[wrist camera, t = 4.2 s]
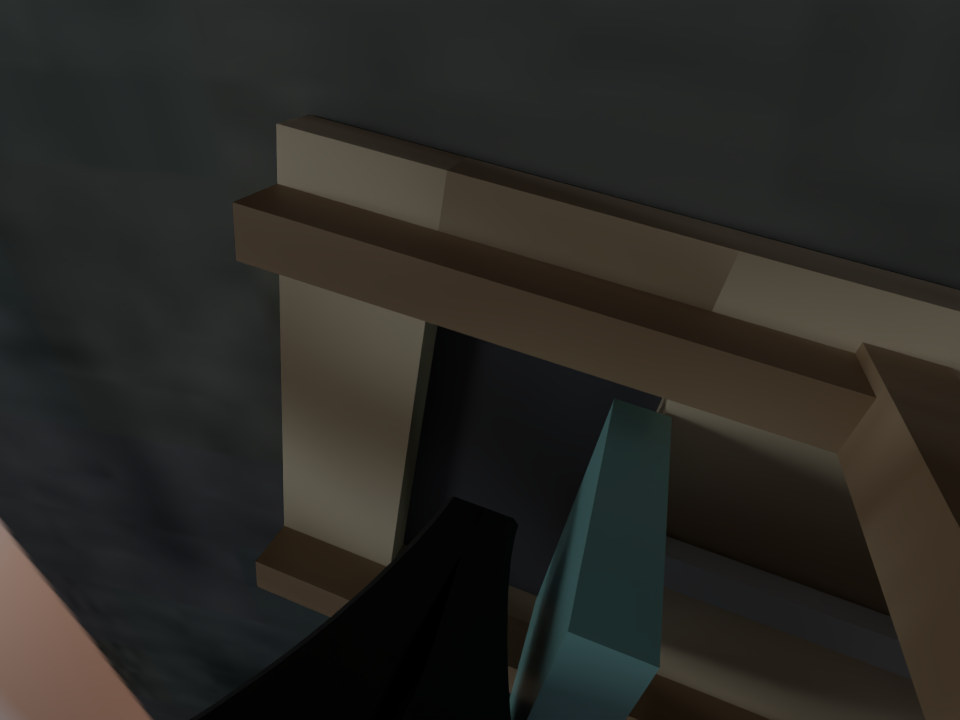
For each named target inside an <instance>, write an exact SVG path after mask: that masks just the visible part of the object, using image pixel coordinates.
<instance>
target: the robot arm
mask: <svg viewBox="0 0 960 720" xmlns="http://www.w3.org/2000/svg"><path fill="white" fill-rule="evenodd" d="M517 528H518V524H517V522H516V521H515V519H514V518H511V517H509V516H506V515H503V514H501V513H498V512H495V511H492V510H490V509H487V508H484V507H482V506H479V505H476V504H473V503H471V502H468V501H465V500H463V499H460V498H457V497H454V496H453V497H450V498H447V499H446V501H445V502H444V503H443V505H442V506H441V507H440V509H439V510H438V511H437V513H436V514H435V515H434V516H433V517H432V519H431V520H430V521H429V522H428V523H427V525H426V526H425V527H424V528H423V529H422V530H421V531H420V533H419V534H418V535H417V536H416V537H415V538H414V539H413V540H412V541H411V542H410V543H409V544H408V545H407V546H406V548H405V549H404V550H403V551H402V552H401V553H400V554H399V555H398V556H397V557H396V558H395V559H394V560H393V561H392V562H391V563H390V564H389V565H387V566H386V567H385V568H384V569H383V570H382V571H381V572H380V573H379V574H378V575H377V576H376V577H375V578H374V579H373V580H372V581H371V582H370V583H369V584H368V585H367V586H366V587H365V588H363V589H362V590H361V591H360V592H359V593H358V594H357V595H355V596H354V597H353V598H352V599H351V600H350V601H349V602H348V603H346V604H345V605H344V606H343V607H342V608H341V609H340V610H338V611H337V612H336V613H335V614H334V615H333V616H332V617H330V618H329V619H328V620H327V621H326V622H324V623H323V624H322V625H321V626H320V627H318V628H317V629H316V630H315V631H313V632H312V633H311V634H310V635H308V636H307V637H306V638H305V639H303V640H302V641H301V642H300V643H298V644H297V645H296V646H294V647H293V648H292V649H290V650H289V651H288V652H287V653H285V654H284V655H283V656H281V657H280V658H279V659H277V660H276V661H275V662H273V663H272V664H271V665H269V666H268V667H266V668H265V669H264V670H262V671H261V672H259V673H258V674H257V675H255V676H254V677H252V678H251V679H249V680H248V681H247V682H245V683H244V684H242V685H241V686H240V687H238V688H237V689H235V690H234V691H232V692H231V693H230V694H228V695H227V696H225V697H224V698H222V699H221V700H219V701H218V702H216V703H215V704H213V705H212V706H210V707H209V708H207V709H206V710H204V711H203V712H201V713H200V714H198V715H196V716H195V717H193V718H191V719H190V720H511V714H510V699H509V679H508V650H507V630H508V589H509V576H510V565H511V557H512V550H513V545H514V540H515V535H516V531H517Z"/></svg>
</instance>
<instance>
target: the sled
mask: <svg viewBox="0 0 960 720" xmlns="http://www.w3.org/2000/svg"><path fill="white" fill-rule="evenodd" d="M671 422H672V417H670V416H667V415H664V414H661V413H658V412H654V411H651V410H648V409H645V408H642V407H639V406H636V405H633V404H630V403H627V402H624V401H621V400H618V399H615V398H614V401H613V403H612V406H611V408H610V411H609V413H608V416H607V419H606V421H605V424H604V426H603V429H602V431H601V434H600V437H599V439H598V442H597V444H596V447H595V450H594V452H593V455H592V457H591V460H590V462H589V465H588V468H587V470H586V473H585V475H584V478H583V480H582V483H581V486H580V488H579V491H578V493H577V496H576V498H575V501H574V504H573V506H572V509H571V511H570V514H569V516H568V519H567V522H566V524H565V527H564V529H563V532H562V535H561V537H560V540H559V542H558V545H557V547H556V550H555V553H554V555H553V558H552V560H551V563H550V565H549V568H548V571H547V573H546V576H545V578H544V581H543V583H542V586H541V589H540V591H539V594H538V596H537V599H536V601H535V605H534V609H533V613H532V617H531V620H530V624H529V628H528V632H527V635H526V639H525V643H524V647H523V651H522V654H521V658H520V662H519V666H518V669H517V673H516V677H515V681H514V685H513V688H512V692H511V696H510V714H511V720H626V718H627V717H628V715H629V714H630V712H631V711H632V709H633V708H634V706H635V705H636V703H637V702H638V700H639V699H640V697H641V696H642V694H643V693H644V691H645V689H646V688H647V686H648V685H649V683H650V682H651V680H652V679H653V677H654V676H655V674H656V673H657V671H658V670H659V668H660V652H661V631H662V610H663V589H664V587H665V588H668V589H671V590H673V591H676V592H679V593H681V594H684V595H687V596H689V597H692V598H695V599H698V600H700V601H703V602H706V603H708V604H711V605H714V606H716V607H719V608H722V609H724V610H727V611H730V612H732V613H735V614H738V615H740V616H743V617H746V618H748V619H751V620H754V621H756V622H759V623H762V624H764V625H767V626H770V627H772V628H775V629H778V630H780V631H783V632H786V633H788V634H791V635H794V636H796V637H799V638H802V639H805V640H807V641H810V642H813V643H815V644H818V645H821V646H823V647H826V648H829V649H831V650H834V651H837V652H839V653H842V654H845V655H847V656H850V657H853V658H855V659H858V660H861V661H863V662H866V663H869V664H871V665H874V666H877V667H879V668H882V669H885V670H887V671H890V672H893V673H895V674H898V675H901V676H903V677H906V678H909V679H911V676H910V673H909V670H908V667H907V664H906V661H905V658H904V655H903V652H902V649H901V646H900V643H899V640H898V636H897V633H896V630H895V627H894V624H893V621H892V618H891V616H888V615H885V614H882V613H880V612H877V611H874V610H871V609H868V608H866V607H863V606H860V605H857V604H854V603H852V602H849V601H846V600H843V599H841V598H838V597H835V596H832V595H829V594H827V593H824V592H821V591H818V590H816V589H813V588H810V587H807V586H804V585H802V584H799V583H796V582H793V581H791V580H788V579H785V578H782V577H779V576H777V575H774V574H771V573H768V572H765V571H763V570H760V569H757V568H754V567H752V566H749V565H746V564H743V563H740V562H738V561H735V560H732V559H729V558H727V557H724V556H721V555H718V554H715V553H713V552H710V551H707V550H704V549H702V548H699V547H696V546H693V545H690V544H688V543H685V542H682V541H679V540H676V539H674V538H671V537H668V536H666V527H667V506H668V485H669V464H670V443H671ZM911 680H912V679H911Z"/></svg>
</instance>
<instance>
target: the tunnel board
mask: <svg viewBox="0 0 960 720" xmlns="http://www.w3.org/2000/svg"><path fill="white" fill-rule="evenodd" d="M276 128H277V179H278V184H276V185H273V186H271V187H269V188H266V189H264V190H261V191H259V192H256V193H254V194H252V195H249V196H247V197H244V198H242V199H239V200H237V201H235V202H233V217H234V232H235V248H236V261H239V262H242V263H245V264H248V265H251V266H254V267H258V268H261V269H264V270H267V271H270V272H273V273H276V274H279V281H280V332H281V384H282V435H283V486H284V527H283V528H282V529H281V530H280V532H279V533H278V534H277V535H276V537H275V538H274V539H273V540H272V542H271V543H270V544H269V546H268V547H267V548H266V549H265V551H264V552H263V553H262V554H261V556H260V557H259V558H258V559H257V561H256V574H257V586H258V587H260V588H262V589H265V590H267V591H270V592H272V593H274V594H277V595H279V596H281V597H284V598H286V599H289V600H291V601H293V602H296V603H298V604H300V605H303V606H305V607H308V608H310V609H312V610H315V611H317V612H319V613H322V614H324V615H326V616H329V617H332V616H333V615H334V614H335V613H336V612H337V611H338V610H340V609H341V608H342V607H343V606H344V605H345V604H346V603H348V602H349V601H350V600H351V599H352V598H353V597H354V596H355V595H357V594H358V593H359V592H360V591H361V590H362V589H363V588H365V587H366V586H367V585H368V584H369V583H370V582H371V581H372V580H373V579H374V578H375V577H376V576H377V575H378V574H379V573H380V572H381V571H382V570H383V569H384V568H385V567H386V566H387V565H389V564H390V563H391V562H392V561H393V560H394V559H395V558H396V557H397V556H398V555H399V554H400V553H401V552H402V551H403V550H404V549H405V548H406V546H407V545H408V544H409V543H410V542H411V541H412V540H413V539H414V538H415V537H416V536H417V535H418V534H419V533H420V531H421V530H422V529H423V528H424V527H425V526H426V525H427V523H428V522H429V521H430V520H431V519H432V517H433V516H434V515H435V514H436V513H437V511H438V510H439V509H440V507H441V506H442V505H443V503H444V502H445V501H446V499H447V498H450V497H453V496H454V497H457V498H460V499H463V500H465V501H468V502H471V503H473V504H476V505H479V506H482V507H484V508H487V509H490V510H492V511H495V512H498V513H501V514H503V515H506V516H509V517H511V518H514V519H515V521H516V522H517V524H518V528H517V531H516V535H515V540H514V545H513V550H512V557H511V565H510V576H509V589H508V630H507V650H508V679H509V693H511V692H512V688H513V685H514V681H515V677H516V673H517V669H518V666H519V662H520V658H521V654H522V651H523V647H524V643H525V639H526V635H527V632H528V628H529V624H530V620H531V617H532V613H533V609H534V605H535V601H536V599H537V596H538V594H539V591H540V589H541V586H542V583H543V581H544V578H545V576H546V573H547V571H548V568H549V565H550V563H551V560H552V558H553V555H554V553H555V550H556V547H557V545H558V542H559V540H560V537H561V535H562V532H563V529H564V527H565V524H566V522H567V519H568V516H569V514H570V511H571V509H572V506H573V504H574V501H575V498H576V496H577V493H578V491H579V488H580V486H581V483H582V480H583V478H584V475H585V473H586V470H587V468H588V465H589V462H590V460H591V457H592V455H593V452H594V450H595V447H596V444H597V442H598V439H599V437H600V434H601V431H602V429H603V426H604V424H605V421H606V419H607V416H608V413H609V411H610V408H611V406H612V403H613V401H614V398H615V399H618V400H621V401H624V402H627V403H630V404H633V405H636V406H639V407H642V408H645V409H648V410H651V411H654V412H658V413H661V414H664V415H667V416H670V417H672V422H671V443H670V464H669V485H668V506H667V527H666V536H668V537H671V538H674V539H676V540H679V541H682V542H685V543H688V544H690V545H693V546H696V547H699V548H702V549H704V550H707V551H710V552H713V553H715V554H718V555H721V556H724V557H727V558H729V559H732V560H735V561H738V562H740V563H743V564H746V565H749V566H752V567H754V568H757V569H760V570H763V571H765V572H768V573H771V574H774V575H777V576H779V577H782V578H785V579H788V580H791V581H793V582H796V583H799V584H802V585H804V586H807V587H810V588H813V589H816V590H818V591H821V592H824V593H827V594H829V595H832V596H835V597H838V598H841V599H843V600H846V601H849V602H852V603H854V604H857V605H860V606H863V607H866V608H868V609H871V610H874V611H877V612H880V613H882V614H885V615H888V616H891V618H892V621H893V624H894V627H895V630H896V633H897V636H898V640H899V643H900V646H901V649H902V652H903V655H904V658H905V661H906V664H907V667H908V670H909V673H910V676H911V679H912V680H911V679H909V678H906V677H903V676H901V675H898V674H895V673H893V672H890V671H887V670H885V669H882V668H879V667H877V666H874V665H871V664H869V663H866V662H863V661H861V660H858V659H855V658H853V657H850V656H847V655H845V654H842V653H839V652H837V651H834V650H831V649H829V648H826V647H823V646H821V645H818V644H815V643H813V642H810V641H807V640H805V639H802V638H799V637H796V636H794V635H791V634H788V633H786V632H783V631H780V630H778V629H775V628H772V627H770V626H767V625H764V624H762V623H759V622H756V621H754V620H751V619H748V618H746V617H743V616H740V615H738V614H735V613H732V612H730V611H727V610H724V609H722V608H719V607H716V606H714V605H711V604H708V603H706V602H703V601H700V600H698V599H695V598H692V597H689V596H687V595H684V594H681V593H679V592H676V591H673V590H671V589H668V588H665V587H664V589H663V610H662V631H661V652H660V668H659V670H658V671H657V673H656V674H655V676H654V677H653V679H652V680H651V682H650V683H649V685H648V686H647V688H646V689H645V691H644V693H643V694H642V696H641V697H640V699H639V700H638V702H637V703H636V705H635V706H634V708H633V709H632V711H631V712H630V714H629V715H628V717H627V718H626V720H960V290H957V289H954V288H950V287H946V286H942V285H939V284H935V283H931V282H928V281H924V280H920V279H916V278H913V277H909V276H905V275H902V274H898V273H894V272H890V271H887V270H883V269H879V268H876V267H872V266H868V265H865V264H861V263H857V262H853V261H850V260H846V259H842V258H839V257H835V256H831V255H827V254H824V253H820V252H816V251H813V250H809V249H805V248H801V247H798V246H794V245H790V244H787V243H783V242H779V241H775V240H772V239H768V238H764V237H761V236H757V235H753V234H750V233H746V232H742V231H738V230H735V229H731V228H727V227H724V226H720V225H716V224H712V223H709V222H705V221H701V220H698V219H694V218H690V217H686V216H683V215H679V214H675V213H672V212H668V211H664V210H660V209H657V208H653V207H649V206H646V205H642V204H638V203H635V202H631V201H627V200H623V199H620V198H616V197H612V196H609V195H605V194H601V193H597V192H594V191H590V190H586V189H583V188H579V187H575V186H571V185H568V184H564V183H560V182H557V181H553V180H549V179H546V178H542V177H538V176H534V175H531V174H527V173H523V172H520V171H516V170H512V169H508V168H505V167H501V166H497V165H494V164H490V163H486V162H482V161H479V160H475V159H471V158H468V157H464V156H460V155H456V154H453V153H449V152H445V151H442V150H438V149H434V148H431V147H427V146H423V145H419V144H416V143H412V142H408V141H405V140H401V139H397V138H393V137H390V136H386V135H382V134H379V133H375V132H371V131H367V130H364V129H360V128H356V127H353V126H349V125H345V124H342V123H338V122H334V121H330V120H327V119H323V118H319V117H316V116H312V115H307V116H303V117H300V118H296V119H292V120H288V121H284V122H281V123H277V124H276Z"/></svg>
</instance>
